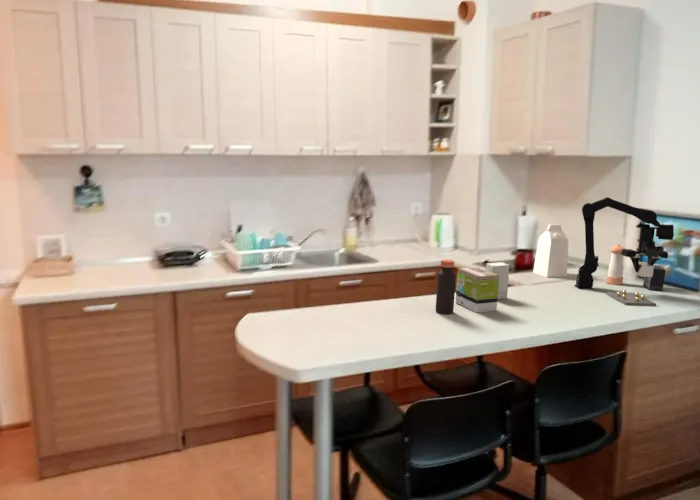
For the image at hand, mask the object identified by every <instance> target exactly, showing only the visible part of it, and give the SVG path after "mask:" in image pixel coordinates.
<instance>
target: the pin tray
mask: <svg viewBox="0 0 700 500" xmlns="http://www.w3.org/2000/svg"><path fill="white" fill-rule="evenodd" d="M606 296H608V297H610V298H611V299H614V300H616V301H617V302H620V303H621V304H623V305H624V306H640V307H641V306H644V307H645V306H646V307H647V306H649V307H656V306H657V303H656V302H653V301H652V300H650V299H648V298H646V296H645V295H644V294H641V295H640V292H638V291H636V292H627V290H626V289H622V291H617V292H612V291H611V292H610V291H609V292H608V291H607V292H606Z"/></svg>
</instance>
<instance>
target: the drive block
mask: <svg viewBox="0 0 700 500" xmlns="http://www.w3.org/2000/svg"><path fill="white" fill-rule="evenodd" d="M653 269H654V266H653V265H650V264H648V262H645V261H639V264H638V272H635V269H634V266H633V265H632V270H631V273H633V274H635V275H637V276H639V277H641V278H644V277H653Z"/></svg>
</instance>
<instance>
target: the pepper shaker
mask: <svg viewBox="0 0 700 500" xmlns="http://www.w3.org/2000/svg"><path fill="white" fill-rule="evenodd" d="M623 249H626V248H625V247H624V246H621V244H617V245H614V246H611V248H610V250H609V252H611V254H610V262H609V265H608V268H607V270H608V271H607V275H606V278H605V280H606V283H607V284H609V285H615V286H622V285H623V282H624V277H623V274H624V257H625V256H623V255H621V252H622V250H623Z"/></svg>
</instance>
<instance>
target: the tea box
mask: <svg viewBox="0 0 700 500" xmlns="http://www.w3.org/2000/svg"><path fill="white" fill-rule="evenodd" d="M456 273H457V274H456V286H455V303H456V304H458V305H461V306H462V307H465V308H466V309H469V310H470V311H472V312H474V313H487V312H489V313H490V312H495V311H497V307H498V299H497V298H498V285H499V275H497V274H495V273H492V272H489V271H486V269H484V268H481V267H477V266H475V267H462V268H457V272H456Z"/></svg>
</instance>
